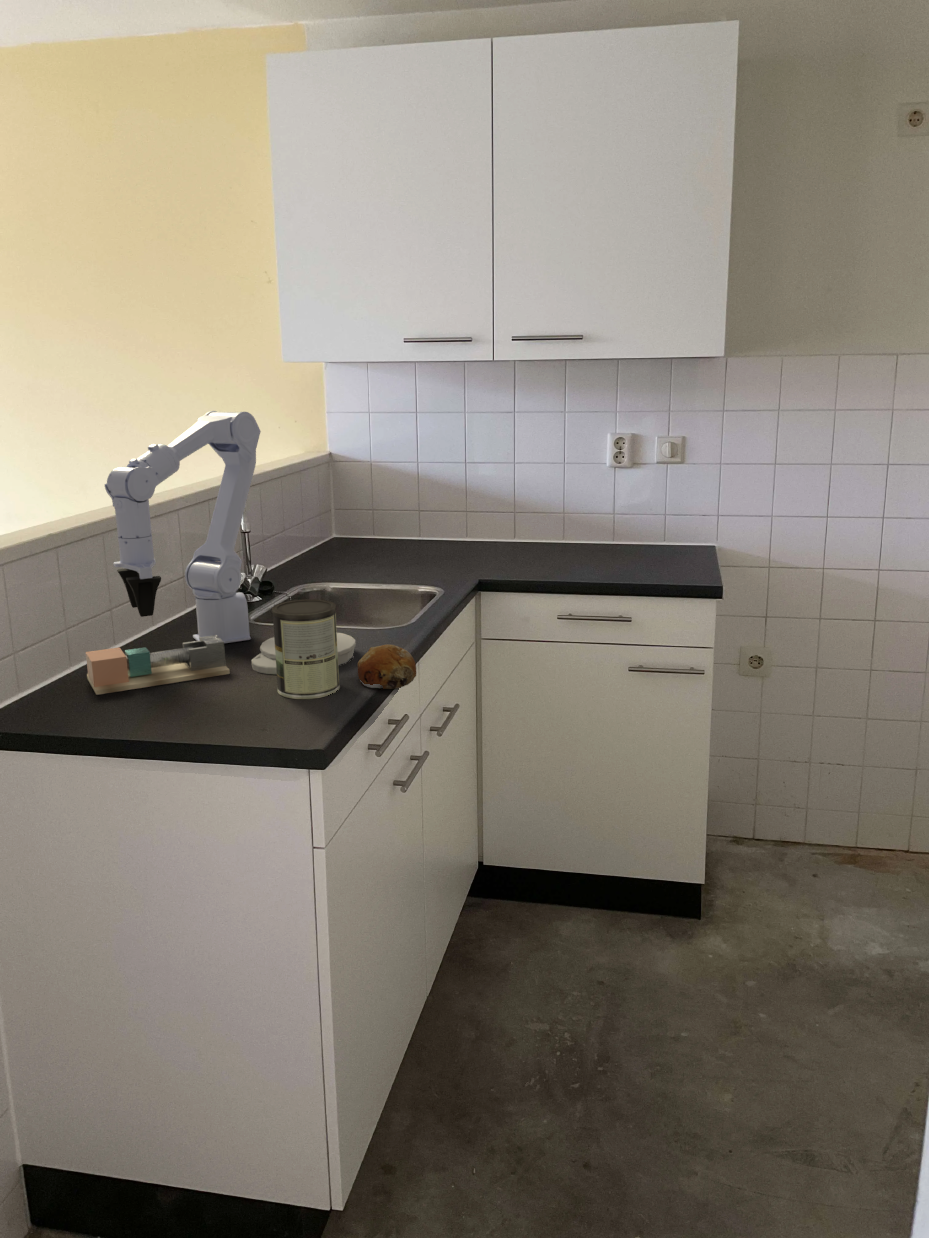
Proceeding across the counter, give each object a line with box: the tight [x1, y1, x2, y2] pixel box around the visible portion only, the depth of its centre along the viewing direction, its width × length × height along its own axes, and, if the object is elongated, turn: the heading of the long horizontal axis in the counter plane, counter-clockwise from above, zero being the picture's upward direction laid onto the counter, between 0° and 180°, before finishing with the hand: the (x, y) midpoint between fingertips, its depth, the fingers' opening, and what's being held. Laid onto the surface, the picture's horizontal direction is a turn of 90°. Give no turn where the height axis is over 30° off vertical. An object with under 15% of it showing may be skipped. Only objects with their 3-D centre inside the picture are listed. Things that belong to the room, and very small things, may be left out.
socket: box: [85, 646, 129, 687], centre depth 166 cm, size 6×6×4 cm
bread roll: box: [357, 643, 417, 690], centre depth 166 cm, size 10×10×8 cm
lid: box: [250, 632, 357, 675], centre depth 179 cm, size 17×20×3 cm
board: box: [86, 663, 231, 696], centre depth 170 cm, size 22×10×1 cm, turn 118°
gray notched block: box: [182, 635, 227, 671], centre depth 173 cm, size 6×5×4 cm
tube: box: [124, 646, 193, 677], centre depth 169 cm, size 15×3×4 cm, turn 118°
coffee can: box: [271, 598, 341, 700], centre depth 161 cm, size 10×10×14 cm
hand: (142, 611), depth 176 cm, fingers open, 7 cm apart
